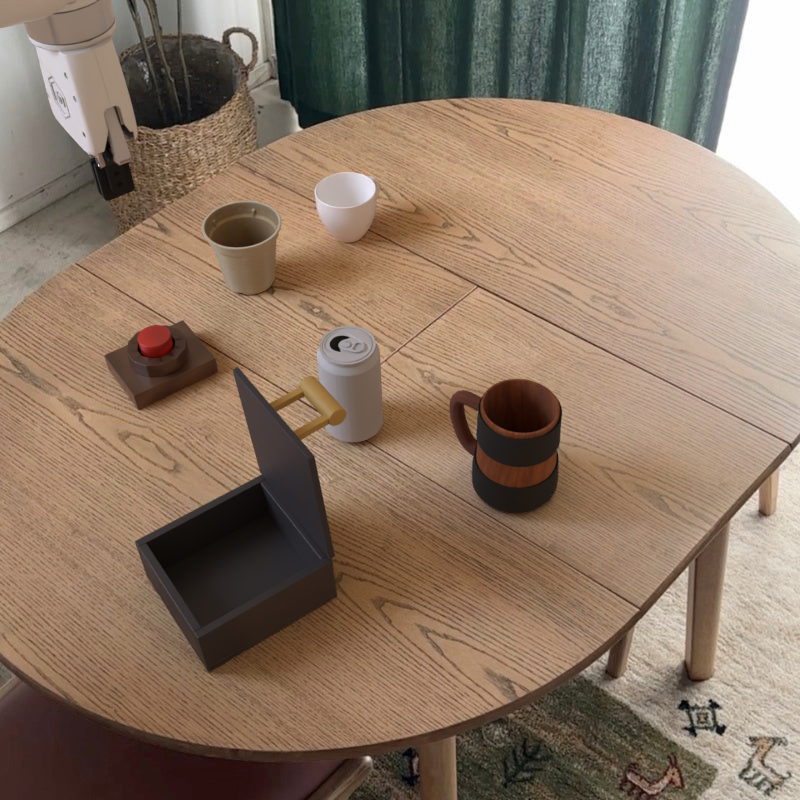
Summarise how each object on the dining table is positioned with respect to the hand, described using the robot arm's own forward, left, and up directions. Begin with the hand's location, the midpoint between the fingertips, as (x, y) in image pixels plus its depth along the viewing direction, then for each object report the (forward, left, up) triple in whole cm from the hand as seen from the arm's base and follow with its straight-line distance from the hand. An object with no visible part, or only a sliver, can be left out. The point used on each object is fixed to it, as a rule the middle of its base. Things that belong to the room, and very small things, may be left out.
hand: (117, 191), depth 103 cm
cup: (+32, +9, -25) cm, 41 cm away
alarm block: (0, 0, -24) cm, 24 cm away
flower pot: (+16, +8, -25) cm, 30 cm away
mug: (+21, -35, -25) cm, 48 cm away
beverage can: (+13, -20, -25) cm, 34 cm away
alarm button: (0, 0, -21) cm, 21 cm away
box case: (-7, -31, -24) cm, 40 cm away
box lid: (-1, -31, -11) cm, 33 cm away
